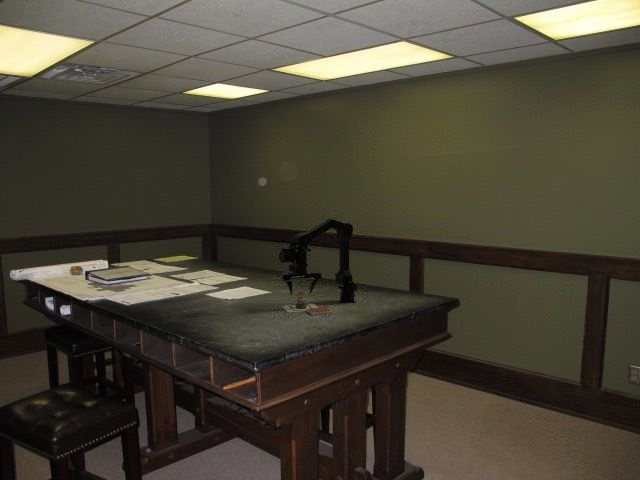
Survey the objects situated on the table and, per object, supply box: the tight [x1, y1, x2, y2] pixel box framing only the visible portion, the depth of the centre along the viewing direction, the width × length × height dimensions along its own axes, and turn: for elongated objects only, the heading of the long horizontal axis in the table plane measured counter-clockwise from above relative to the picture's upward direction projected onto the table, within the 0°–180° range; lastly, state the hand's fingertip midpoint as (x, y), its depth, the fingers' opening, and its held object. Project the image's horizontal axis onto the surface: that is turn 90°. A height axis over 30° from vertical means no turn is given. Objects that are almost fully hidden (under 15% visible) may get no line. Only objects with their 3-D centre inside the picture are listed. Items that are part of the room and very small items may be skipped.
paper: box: [281, 303, 320, 314], centre depth 240 cm, size 16×12×1 cm
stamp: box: [295, 291, 308, 309], centre depth 240 cm, size 5×5×8 cm
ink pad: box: [306, 306, 334, 316], centre depth 233 cm, size 10×8×2 cm
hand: (300, 294), depth 240 cm, fingers open, 9 cm apart
